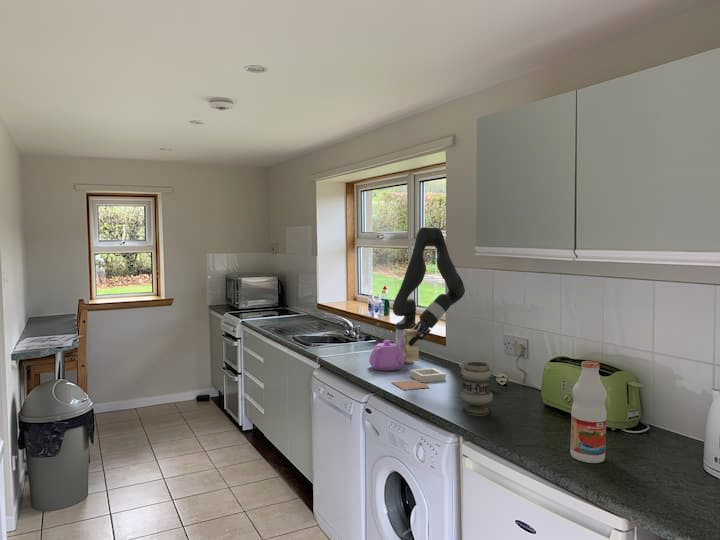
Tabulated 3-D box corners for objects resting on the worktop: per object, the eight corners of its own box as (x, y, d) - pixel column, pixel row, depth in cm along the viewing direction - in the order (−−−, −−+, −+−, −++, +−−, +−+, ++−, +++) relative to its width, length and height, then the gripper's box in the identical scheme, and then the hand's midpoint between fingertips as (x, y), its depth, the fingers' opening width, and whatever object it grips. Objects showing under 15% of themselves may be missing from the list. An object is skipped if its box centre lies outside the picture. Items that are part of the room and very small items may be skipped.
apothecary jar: (453, 408, 203) (454, 361, 202) (481, 405, 207) (482, 358, 206) (471, 418, 192) (472, 368, 191) (499, 414, 196) (501, 365, 195)
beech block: (403, 359, 235) (403, 329, 234) (413, 358, 237) (413, 328, 236) (407, 361, 230) (408, 331, 230) (418, 360, 232) (418, 330, 231)
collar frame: (410, 376, 251) (410, 369, 250) (433, 374, 255) (433, 367, 255) (421, 382, 239) (421, 375, 239) (445, 380, 243) (445, 373, 243)
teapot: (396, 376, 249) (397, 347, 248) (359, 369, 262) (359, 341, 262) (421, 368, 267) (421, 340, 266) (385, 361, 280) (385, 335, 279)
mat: (392, 383, 238) (392, 382, 238) (416, 381, 242) (416, 380, 242) (403, 390, 226) (403, 389, 226) (429, 388, 231) (429, 386, 231)
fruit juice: (591, 450, 163) (595, 358, 162) (612, 462, 154) (615, 365, 153) (563, 452, 162) (566, 359, 160) (582, 465, 152) (585, 366, 151)
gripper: (419, 307, 242) (394, 335, 238) (434, 311, 228) (408, 340, 225) (430, 318, 244) (405, 346, 240) (445, 323, 230) (419, 352, 227)
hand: (407, 343), depth 232 cm, fingers closed on beech block, 5 cm apart
